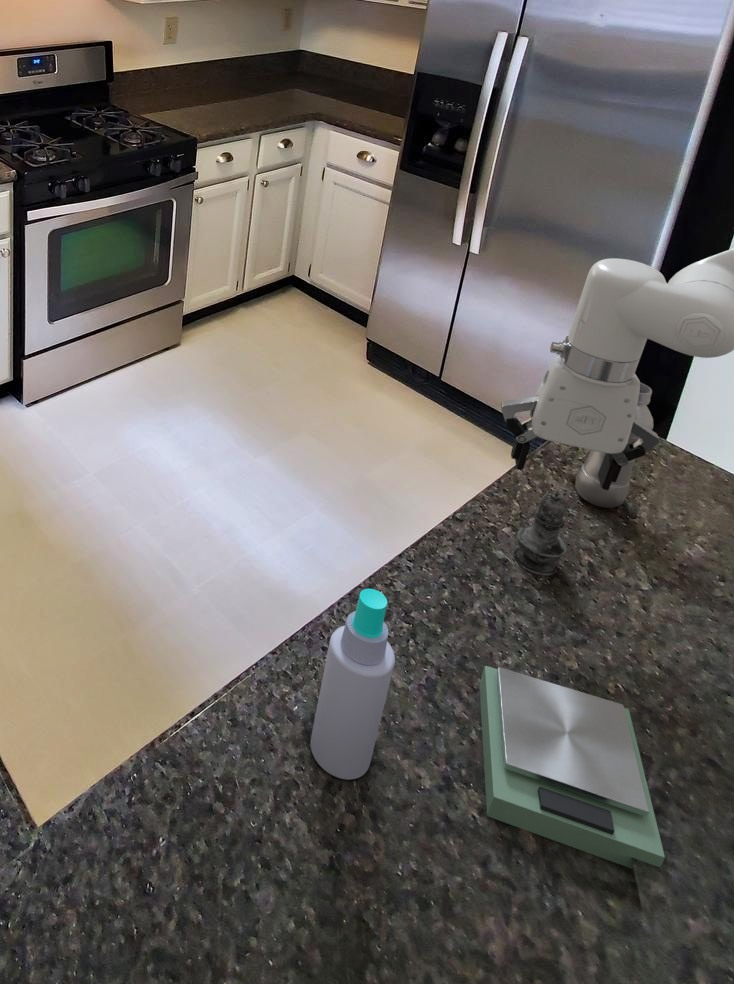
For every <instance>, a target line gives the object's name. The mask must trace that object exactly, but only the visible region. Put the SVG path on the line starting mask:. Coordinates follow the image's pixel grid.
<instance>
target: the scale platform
mask: <svg viewBox="0 0 734 984" xmlns="http://www.w3.org/2000/svg"><path fill="white" fill-rule="evenodd" d="M496 669H497V683H498V695H499V707H500V719H501V732H502V744H503V756H504V768H505V769H508V770H511V771H514V772H517V773H520V774H523V775H525V776H528V777H531V778H534V779H537V780H540V781H543V782H546V783H549V784H552V785H555V786H558V787H560V788H563V789H566V790H569V791H572V792H575V793H578V794H581V795H584V796H587V797H590V798H593V799H595V800H598V801H601V802H604V803H607V804H610V805H613V806H616V807H619V808H622V809H625V810H628V811H630V812H633V813H636V814H639V815H642V816H645V817H647V815H648V813H649V809H648V805H647V801H646V797H645V792H644V788H643V784H642V780H641V776H640V772H639V767H638V763H637V759H636V755H635V751H634V747H633V742H632V738H631V734H630V730H629V726H628V721H627V717H626V713H625V709H624V708H625V705H624V704H623V703H619V702H616V701H612V700H609V699H607V698H603V697H599V696H597V695H593V694H590V693H586V692H583V691H579V690H576V689H573V688H569V687H566V686H564V685H559V684H556V683H554V682H550V681H546V680H543V679H540V678H537V677H533V676H531V675H527V674H523V673H520V672H517V671H514V670H511V669H507V668H503V667H500V666H498V667H497V668H496Z"/></svg>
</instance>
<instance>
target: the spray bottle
mask: <svg viewBox="0 0 734 984" xmlns="http://www.w3.org/2000/svg"><path fill="white" fill-rule="evenodd" d="M357 600H358V601H357V605H356V608H355V611H352V612H350V613H349V614H348V616H347V618H346V621H345V623H344V625H341V626H339V627H338V628H336V629H335V630H334V631H333V632H332V634H331V636H330V639H329V642H328V643H329V644H328V649H327V653H326V658H325V664H324V669H323V674H322V678H321V679H322V680H321V685H320V688H319V695H318V700H317V705H316V710H315V714H314V715H315V716H314V720H313V726H312V731H311V735H310V750H311V751H310V752H311V753H312V756H313V758H314V760H315V761H316V763H317V765H318V766H319V767H321V768H322V769H323V770H324V771H325V772H326V773H327V774H329V775H331V776H333V777H335V778H337V779H342V780H346V781H347V780H356V779H359V778H361V777H363V776H364V775H365V774H366V773H367V772H368V770H369V768H370V765H371V761H372V758H373V754H374V749H375V745H376V741H377V738H378V733H379V730H380V725H381V722H382V718H383V713H384V708H385V704H386V700H387V697H388V692H389V688H390V684H391V680H392V676H393V672H394V668H395V664H396V656H395V651H394V648H393V647H392V646H391V644H390V643H389V641H388V638H389V627H388V625H387V624H386V622H385V617H386V612H387V607H388V599H387V597H386V596H385V595H384V594H383V593H382V592H381V591H379V590H377V589H374V588H364V589H362V590H361V591H360V593H359V596H358V599H357Z"/></svg>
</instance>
